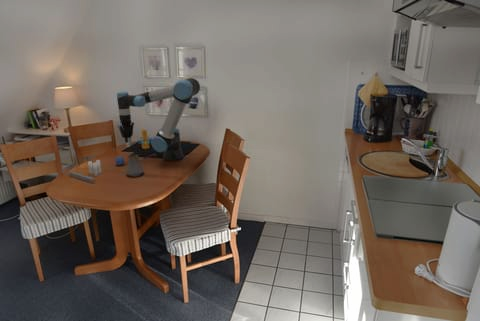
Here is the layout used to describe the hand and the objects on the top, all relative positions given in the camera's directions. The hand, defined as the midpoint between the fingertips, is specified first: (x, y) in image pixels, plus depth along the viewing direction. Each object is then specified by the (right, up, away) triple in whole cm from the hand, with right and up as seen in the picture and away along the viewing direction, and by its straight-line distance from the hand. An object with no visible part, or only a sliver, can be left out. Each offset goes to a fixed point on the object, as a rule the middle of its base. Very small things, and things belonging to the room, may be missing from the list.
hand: (128, 146), depth 243 cm
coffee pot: (+16, -20, -22) cm, 34 cm away
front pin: (-14, -18, -17) cm, 29 cm away
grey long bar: (-21, -22, -28) cm, 41 cm away
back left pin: (-14, -20, -22) cm, 33 cm away
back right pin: (-18, -19, -19) cm, 33 cm away
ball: (-5, -11, -5) cm, 13 cm away
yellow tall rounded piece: (+3, 0, +34) cm, 34 cm away
